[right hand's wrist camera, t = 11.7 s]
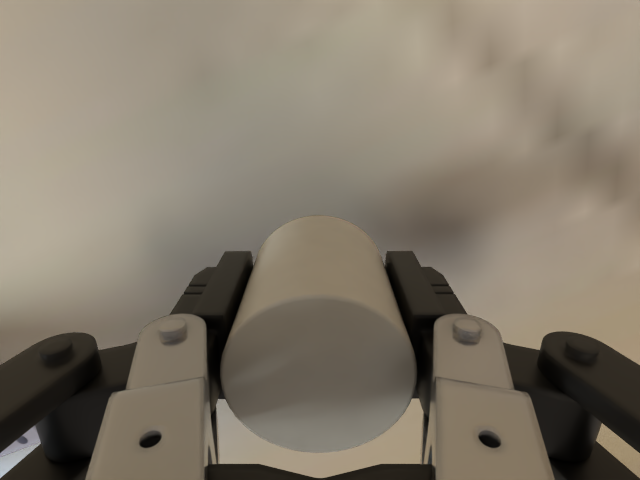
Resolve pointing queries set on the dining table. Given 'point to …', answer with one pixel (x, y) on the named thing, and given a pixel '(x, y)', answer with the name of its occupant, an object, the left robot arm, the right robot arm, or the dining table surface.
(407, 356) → the can
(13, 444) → the left robot arm
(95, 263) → the dining table surface
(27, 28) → the dining table surface
